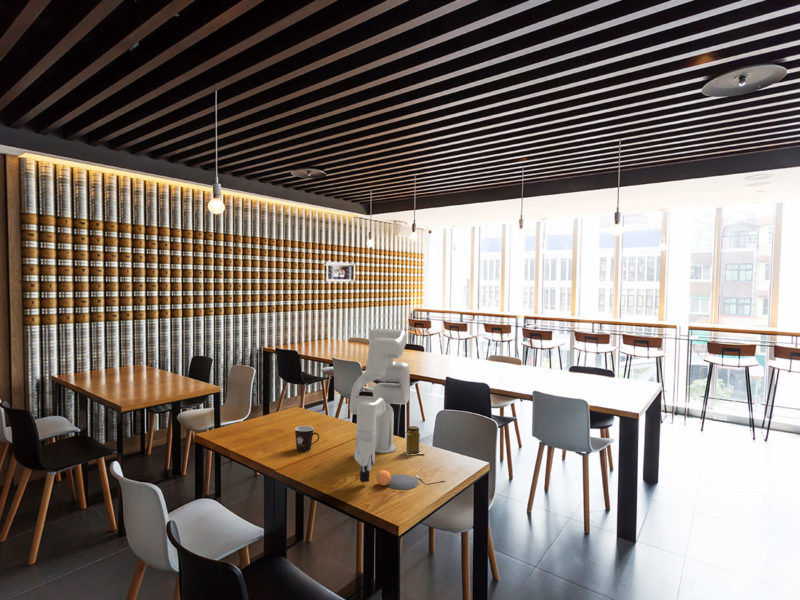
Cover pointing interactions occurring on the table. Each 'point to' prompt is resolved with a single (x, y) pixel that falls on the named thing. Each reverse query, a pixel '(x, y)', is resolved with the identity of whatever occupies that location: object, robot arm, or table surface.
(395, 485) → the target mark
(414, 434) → the condiment
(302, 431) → the coffee mug
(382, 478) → the ball
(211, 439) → the table surface
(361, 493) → the table surface
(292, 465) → the table surface
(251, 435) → the table surface
